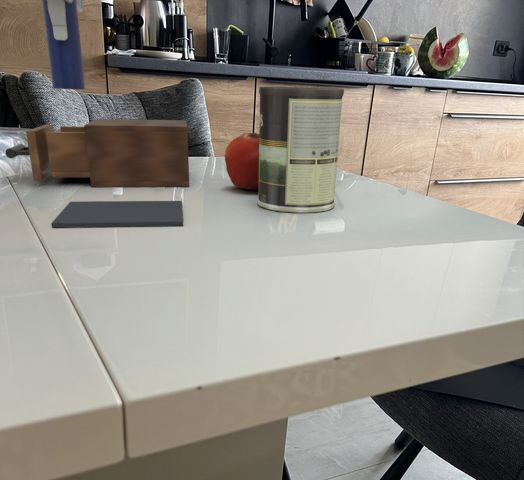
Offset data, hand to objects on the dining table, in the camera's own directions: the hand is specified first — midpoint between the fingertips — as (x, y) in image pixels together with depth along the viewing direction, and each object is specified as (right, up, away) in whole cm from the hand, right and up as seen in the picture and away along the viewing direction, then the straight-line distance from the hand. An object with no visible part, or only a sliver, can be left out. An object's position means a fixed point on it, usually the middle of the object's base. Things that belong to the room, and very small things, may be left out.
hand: (65, 41), depth 79 cm
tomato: (+27, -21, +3) cm, 35 cm away
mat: (+12, -29, -14) cm, 34 cm away
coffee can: (+33, -26, -7) cm, 43 cm away
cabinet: (+9, -17, +10) cm, 22 cm away
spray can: (0, -5, +3) cm, 6 cm away
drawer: (-2, -17, +8) cm, 18 cm away
